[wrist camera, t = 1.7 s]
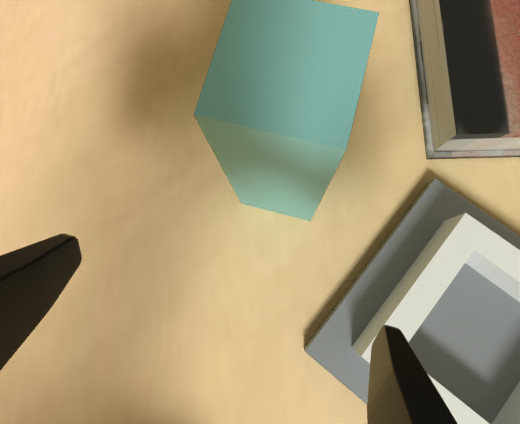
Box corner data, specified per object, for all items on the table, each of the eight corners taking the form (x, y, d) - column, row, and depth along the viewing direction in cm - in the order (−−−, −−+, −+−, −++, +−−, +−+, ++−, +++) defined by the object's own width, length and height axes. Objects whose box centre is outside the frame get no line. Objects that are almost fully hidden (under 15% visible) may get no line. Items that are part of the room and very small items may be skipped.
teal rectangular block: (310, 221, 23) (346, 149, 10) (241, 203, 24) (193, 114, 11) (328, 149, 24) (381, 3, 11) (261, 134, 24) (239, -22, 12)
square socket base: (499, 515, 19) (548, 567, 16) (303, 348, 21) (308, 361, 18) (624, 317, 21) (692, 324, 17) (428, 182, 23) (454, 165, 20)
